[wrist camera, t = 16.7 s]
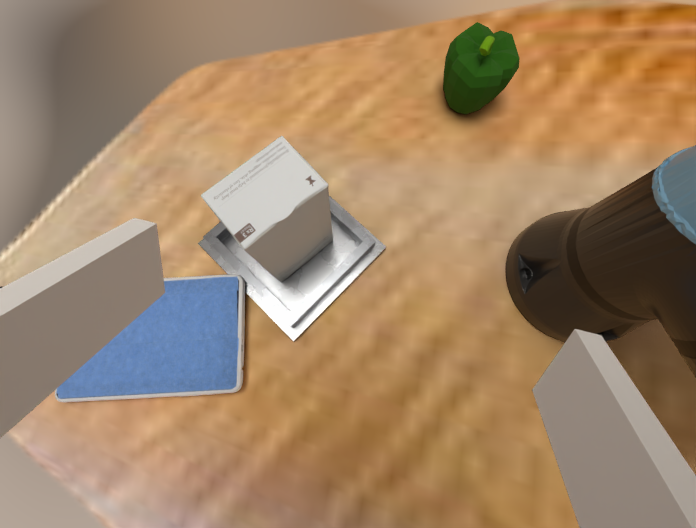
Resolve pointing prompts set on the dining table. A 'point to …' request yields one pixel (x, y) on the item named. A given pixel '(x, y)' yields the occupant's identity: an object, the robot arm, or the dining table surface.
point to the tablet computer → (171, 346)
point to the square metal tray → (300, 271)
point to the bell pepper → (478, 67)
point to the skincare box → (275, 208)
